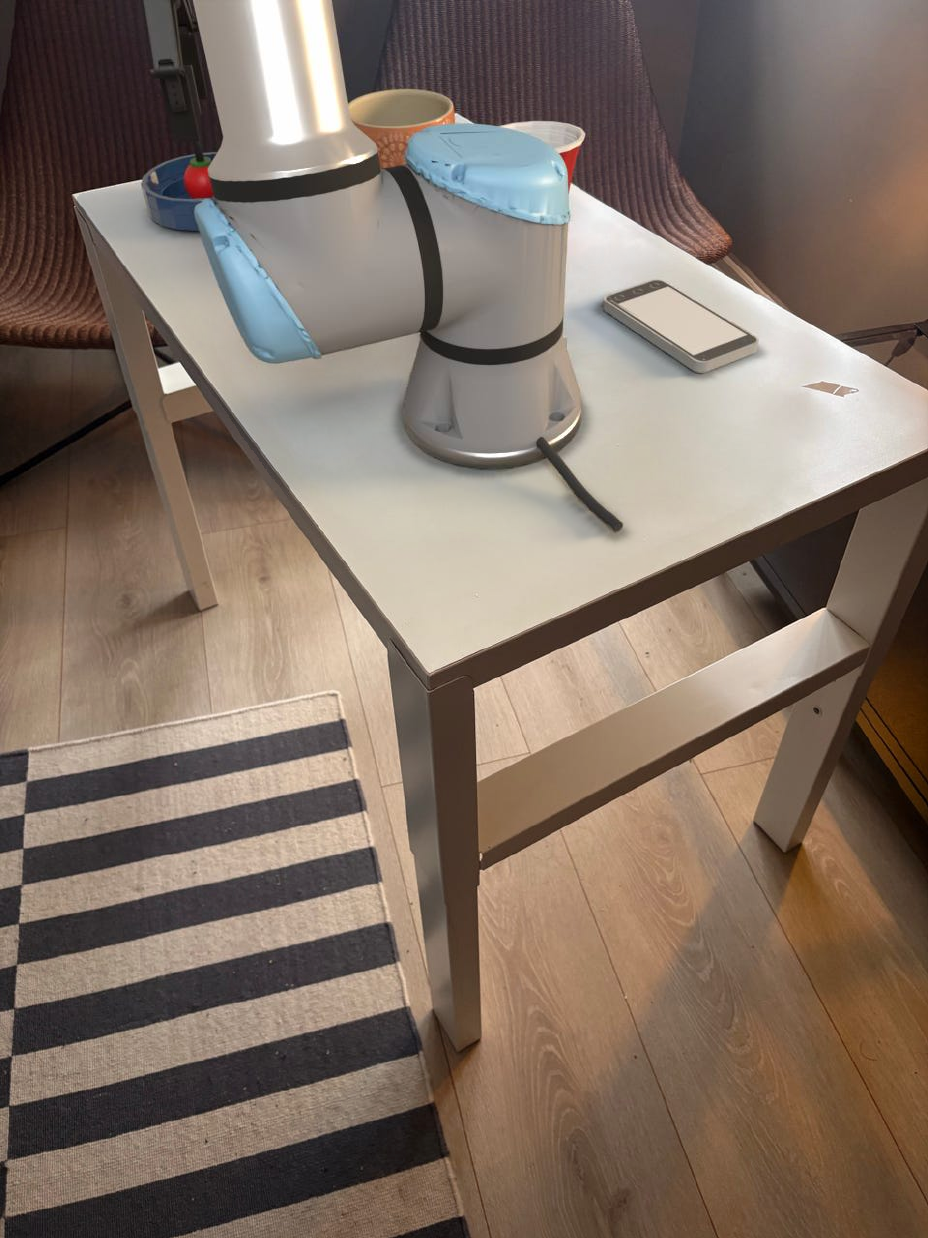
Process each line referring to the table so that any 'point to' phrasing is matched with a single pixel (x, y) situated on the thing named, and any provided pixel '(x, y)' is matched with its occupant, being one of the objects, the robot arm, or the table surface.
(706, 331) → the smartphone
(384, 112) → the planter
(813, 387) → the table surface
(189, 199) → the dish
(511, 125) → the plastic cup
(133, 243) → the table surface
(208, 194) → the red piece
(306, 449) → the table surface
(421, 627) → the table surface
